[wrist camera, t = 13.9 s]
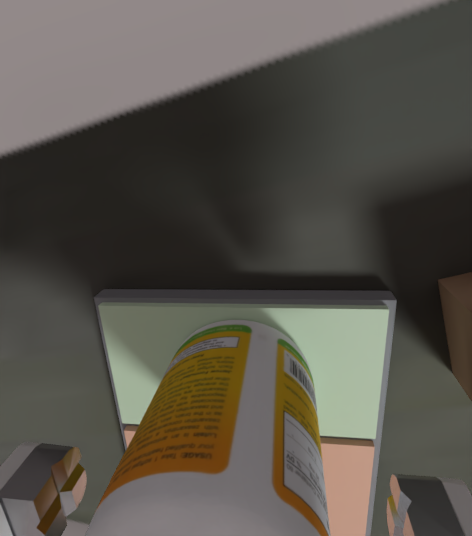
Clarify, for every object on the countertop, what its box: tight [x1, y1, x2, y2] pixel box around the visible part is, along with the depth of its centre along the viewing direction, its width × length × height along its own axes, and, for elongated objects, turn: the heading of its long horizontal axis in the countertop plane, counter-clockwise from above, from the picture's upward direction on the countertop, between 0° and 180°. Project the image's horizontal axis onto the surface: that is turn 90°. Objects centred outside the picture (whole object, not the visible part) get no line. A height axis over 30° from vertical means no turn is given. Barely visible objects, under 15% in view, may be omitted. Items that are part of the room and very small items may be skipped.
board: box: [94, 289, 397, 536], centre depth 15 cm, size 11×12×1 cm
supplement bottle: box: [85, 320, 330, 536], centre depth 9 cm, size 5×5×10 cm
